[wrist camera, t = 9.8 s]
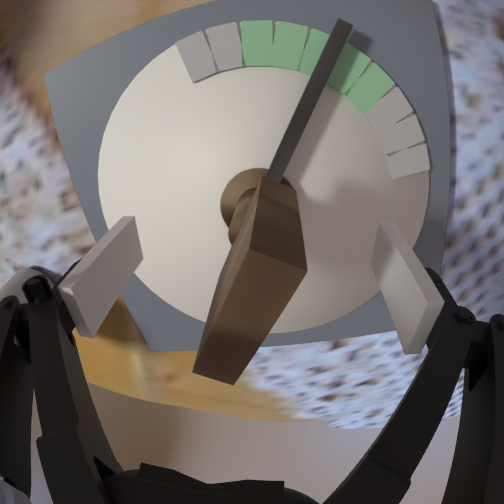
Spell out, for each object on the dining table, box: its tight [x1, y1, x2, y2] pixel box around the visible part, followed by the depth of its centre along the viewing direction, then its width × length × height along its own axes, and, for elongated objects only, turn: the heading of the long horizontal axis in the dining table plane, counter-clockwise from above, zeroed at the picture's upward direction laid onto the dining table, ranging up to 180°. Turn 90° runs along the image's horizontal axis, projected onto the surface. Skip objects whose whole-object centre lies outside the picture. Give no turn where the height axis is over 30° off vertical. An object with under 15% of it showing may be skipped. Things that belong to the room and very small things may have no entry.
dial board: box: [44, 0, 451, 351], centre depth 20 cm, size 28×28×2 cm
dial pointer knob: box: [192, 18, 353, 385], centre depth 12 cm, size 5×16×11 cm, turn 158°
